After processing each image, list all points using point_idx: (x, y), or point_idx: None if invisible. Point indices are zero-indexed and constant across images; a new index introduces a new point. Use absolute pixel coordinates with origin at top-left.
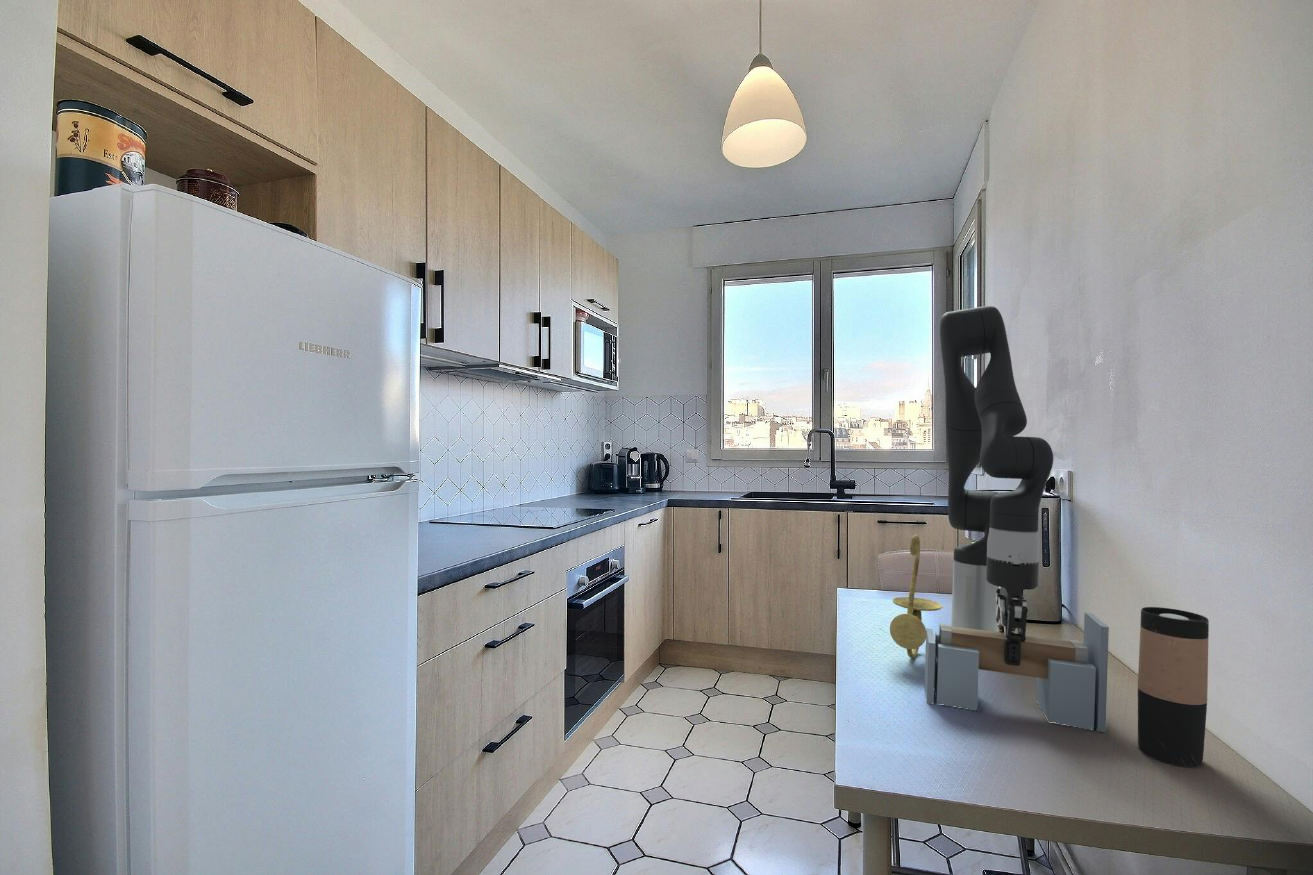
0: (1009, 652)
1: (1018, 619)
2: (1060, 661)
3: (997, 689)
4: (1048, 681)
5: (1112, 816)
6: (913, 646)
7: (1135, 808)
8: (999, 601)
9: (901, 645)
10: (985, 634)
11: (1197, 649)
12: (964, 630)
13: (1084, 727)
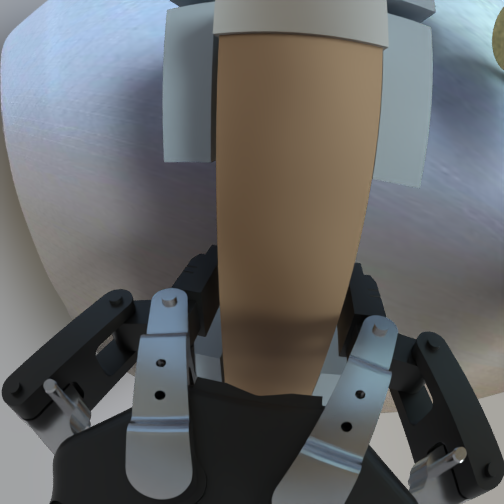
0: (181, 274)
1: (78, 386)
2: (210, 372)
3: (396, 219)
4: (219, 315)
5: (38, 243)
6: (496, 49)
7: (58, 268)
8: (130, 457)
9: (496, 26)
10: (268, 229)
11: None
12: (310, 117)
13: None
